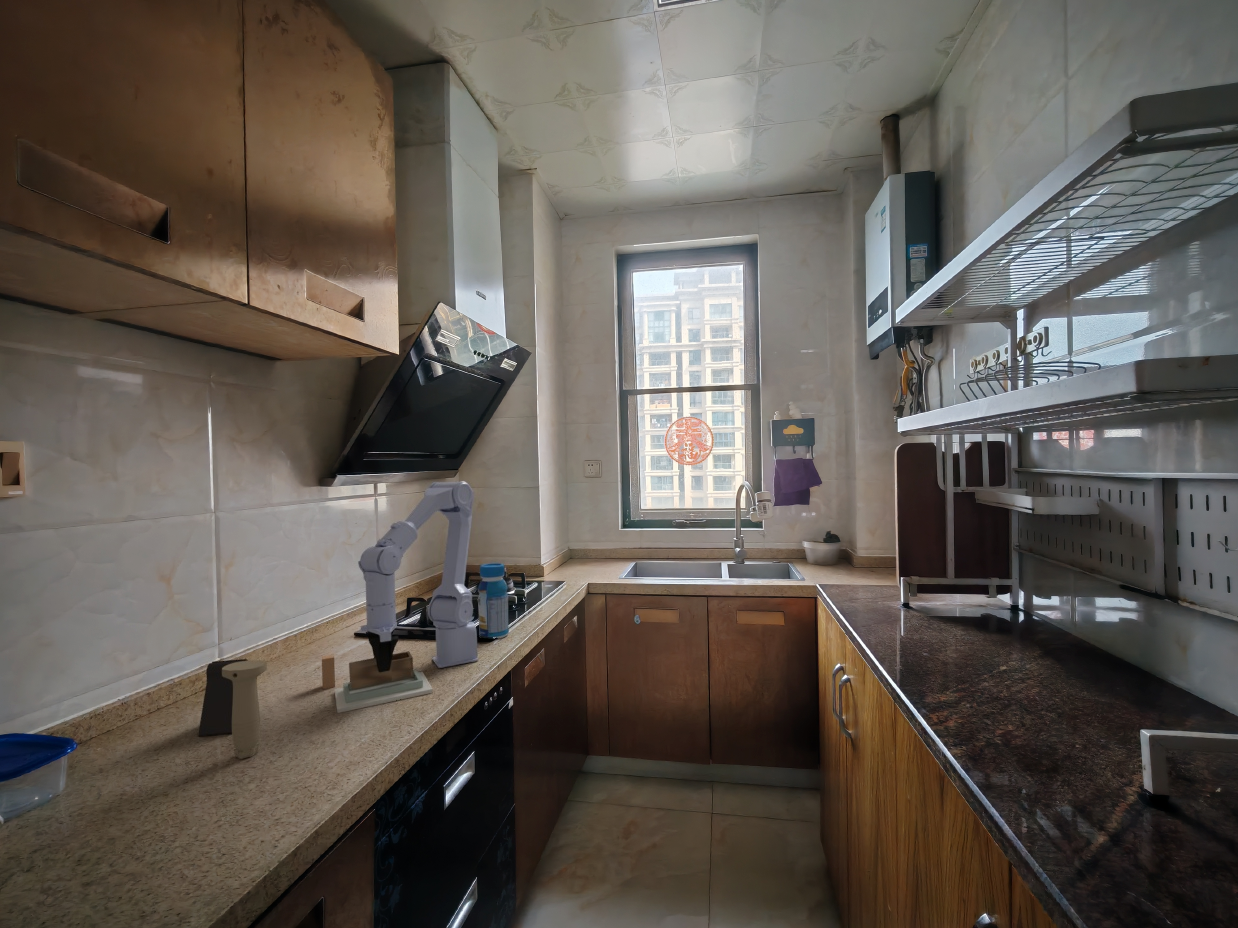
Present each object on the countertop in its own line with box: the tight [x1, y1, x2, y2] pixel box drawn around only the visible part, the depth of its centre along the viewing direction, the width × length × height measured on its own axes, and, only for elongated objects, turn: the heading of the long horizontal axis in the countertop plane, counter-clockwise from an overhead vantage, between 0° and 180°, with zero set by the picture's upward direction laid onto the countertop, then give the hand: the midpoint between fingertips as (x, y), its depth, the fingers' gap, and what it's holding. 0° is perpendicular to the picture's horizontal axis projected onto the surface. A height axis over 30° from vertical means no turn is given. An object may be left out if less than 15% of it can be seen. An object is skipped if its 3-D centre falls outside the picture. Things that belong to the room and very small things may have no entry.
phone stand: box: [197, 658, 249, 738], centre depth 106 cm, size 9×6×12 cm, turn 8°
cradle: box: [334, 668, 434, 714], centre depth 119 cm, size 18×12×2 cm, turn 119°
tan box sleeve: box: [348, 651, 414, 689], centre depth 119 cm, size 12×5×4 cm, turn 119°
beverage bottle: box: [477, 562, 510, 640], centre depth 158 cm, size 8×8×20 cm
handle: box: [222, 659, 268, 760], centre depth 94 cm, size 5×6×15 cm
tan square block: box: [321, 654, 336, 690], centre depth 124 cm, size 2×2×6 cm
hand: (382, 667), depth 119 cm, fingers closed on tan box sleeve, 5 cm apart
